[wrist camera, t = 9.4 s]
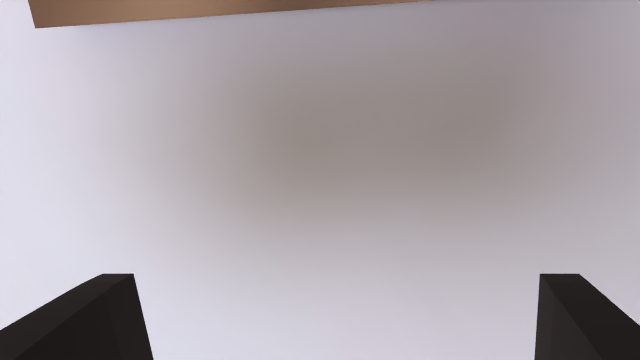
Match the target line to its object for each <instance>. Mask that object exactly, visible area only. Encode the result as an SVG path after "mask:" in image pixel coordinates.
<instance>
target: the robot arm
mask: <svg viewBox="0 0 640 360" xmlns="http://www.w3.org/2000/svg"><path fill="white" fill-rule="evenodd" d="M0 360H153V355H152V351H151V347H150V343H149V338H148V334H147V330H146V325H145V321H144V317H143V313H142V308H141V304H140V300H139V296H138V291H137V287H136V283H135V278H134V274H101V275H99V276H97V277H94V278H92V279H90V280H88V281H86V282H84V283H82V284H80V285H79V286H77V287H75V288H73V289H71V290H69V291H68V292H66V293H64V294H62V295H61V296H59V297H57V298H55V299H54V300H52V301H50V302H48V303H47V304H45V305H43V306H41V307H40V308H38V309H36V310H35V311H33V312H31V313H29V314H28V315H26V316H24V317H22V318H21V319H19V320H17V321H15V322H14V323H12V324H10V325H9V326H7V327H5V328H3V329H2V330H0ZM535 360H640V326H639V325H638V324H637V323H636V322H635V321H633V320H632V319H631V318H630V317H629V316H628V315H626V314H625V313H624V312H623V311H622V310H621V309H619V308H618V307H617V306H616V305H615V304H614V303H612V302H611V301H610V300H609V299H608V298H607V297H606V296H604V295H603V294H602V293H601V292H600V291H599V290H597V289H596V288H595V287H594V286H593V285H592V284H591V283H589V282H588V281H587V280H586V279H585V278H583V277H582V276H581V275H580V274H540V282H539V298H538V314H537V330H536V346H535Z"/></svg>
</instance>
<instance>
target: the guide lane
mask: <svg viewBox="0 0 640 360" xmlns="http://www.w3.org/2000/svg"><path fill="white" fill-rule="evenodd" d="M418 1H433V0H28V2H29V6H30V10H31V14H32V17H33V21H34V25H35V28H47V27H62V26H76V25H90V24H104V23H119V22H133V21H147V20H162V19H176V18H190V17H204V16H219V15H233V14H247V13H261V12H276V11H290V10H304V9H319V8H333V7H347V6H361V5H376V4H390V3H404V2H418Z"/></svg>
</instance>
